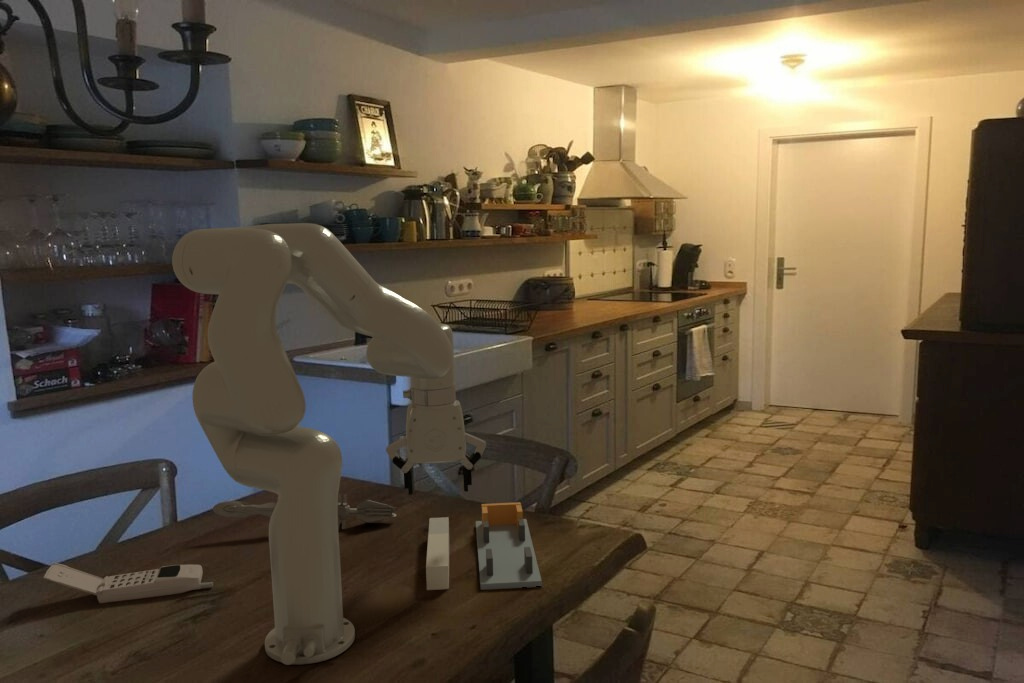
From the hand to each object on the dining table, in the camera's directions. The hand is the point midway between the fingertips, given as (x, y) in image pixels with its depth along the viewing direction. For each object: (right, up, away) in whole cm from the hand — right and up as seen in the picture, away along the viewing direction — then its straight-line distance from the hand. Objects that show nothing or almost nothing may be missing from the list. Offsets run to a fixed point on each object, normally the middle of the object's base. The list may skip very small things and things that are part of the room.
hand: (438, 490), depth 143 cm
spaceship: (-27, -11, +18) cm, 34 cm away
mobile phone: (-50, -16, -8) cm, 53 cm away
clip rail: (+12, -12, +4) cm, 17 cm away
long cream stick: (0, -13, +1) cm, 13 cm away
